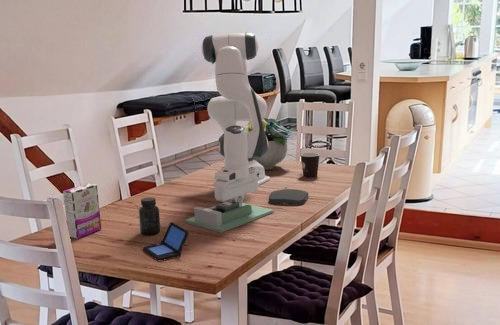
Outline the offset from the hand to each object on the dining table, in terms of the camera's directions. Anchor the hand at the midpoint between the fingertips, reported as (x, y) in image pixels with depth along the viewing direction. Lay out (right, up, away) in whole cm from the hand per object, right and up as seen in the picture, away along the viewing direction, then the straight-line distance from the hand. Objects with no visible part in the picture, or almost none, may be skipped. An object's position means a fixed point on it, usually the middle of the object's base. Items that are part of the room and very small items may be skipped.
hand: (237, 207), depth 220 cm
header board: (-3, -3, -2) cm, 5 cm away
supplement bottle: (-29, -8, -17) cm, 35 cm away
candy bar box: (-52, -8, -15) cm, 55 cm away
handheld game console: (-22, -12, -34) cm, 42 cm away
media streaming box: (+20, +1, +19) cm, 27 cm away
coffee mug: (+32, +11, +57) cm, 67 cm away
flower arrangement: (+12, +14, +73) cm, 76 cm away
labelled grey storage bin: (-4, -3, -3) cm, 6 cm away
